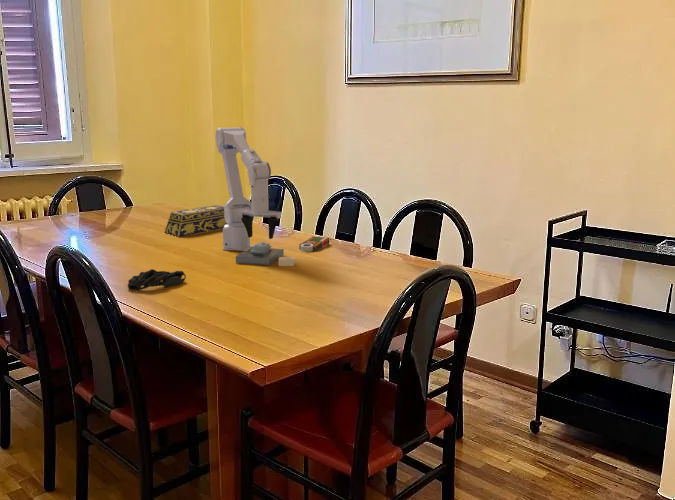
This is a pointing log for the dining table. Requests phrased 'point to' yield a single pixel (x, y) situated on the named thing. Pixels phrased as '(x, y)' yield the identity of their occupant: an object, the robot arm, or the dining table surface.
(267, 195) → the robot arm
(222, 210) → the decorative box
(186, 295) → the dining table surface
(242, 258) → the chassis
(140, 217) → the dining table surface
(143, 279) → the cable
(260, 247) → the block
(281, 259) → the box
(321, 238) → the electronic device
